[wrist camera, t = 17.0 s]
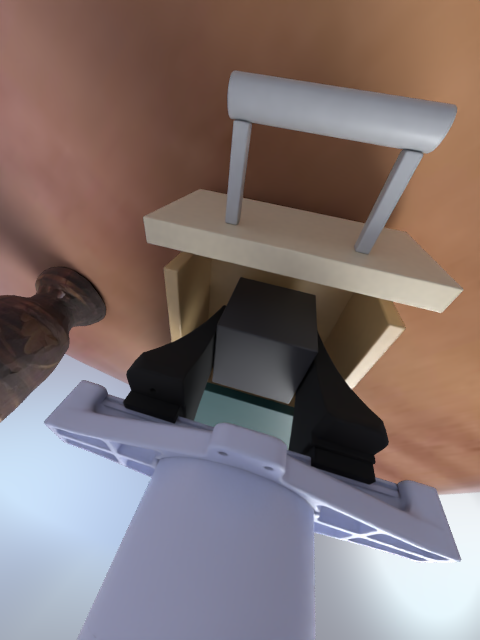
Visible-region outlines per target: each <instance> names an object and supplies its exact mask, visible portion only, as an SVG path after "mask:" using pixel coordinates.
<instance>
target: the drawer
mask: <svg viewBox="0 0 480 640" xmlns="http://www.w3.org/2000/svg"><path fill="white" fill-rule="evenodd" d="M227 106H228V114H229V117H230V118H231V119H234V122H233V134H232V146H231V157H230V169H229V181H228V193H227V194H223V193H218V192H213V191H208V190H203V189H199V190H197V191H195V192H193V193H191V194H188V195H186V196H184V197H182V198H180V199H178V200H176V201H174V202H172V203H170V204H168V205H166V206H164V207H162V208H160V209H158V210H156V211H154V212H152V213H150V214H148V215H146V216H144V217H143V220H144V226H145V233H146V239H147V243H150V244H154V245H158V246H163V247H167V248H171V249H175V250H179V251H182V252H181V253H179V254H178V255H177V256H176V257H175V258H174V259H173V260H172V261H171V262H170V263H168V264H167V265H166V266H165V267H164V278H165V287H166V297H167V306H168V315H169V324H170V333H171V342H174V341H176V340H178V339H180V338H181V337H183V336H185V335H187V334H188V333H190V332H192V331H193V330H195V329H196V328H198V327H199V326H200V325H202V324H203V323H204V322H206V321H207V320H208V319H209V318H210V317H212V316H213V315H214V314H215V313H216V312H217V311H218V310H219V309H220V308H221V307H222V306H224V305H226V306H227V304H228V301H229V299H230V297H231V295H232V293H233V291H234V289H235V287H236V285H237V283H238V281H239V279H240V277H243V278H247V279H252V280H256V281H260V282H264V283H268V284H272V285H276V286H280V287H284V288H289V289H293V290H297V291H301V292H305V293H309V294H313V295H316V313H317V330H318V333H319V335H320V337H321V340H322V342H323V344H324V346H325V348H326V350H327V352H328V354H329V356H330V358H331V360H332V362H333V364H334V365H335V367H336V369H337V370H338V372H339V373H340V375H341V376H342V377H343V379H344V380H345V382H346V383H347V384H348V385H349V387H350V388H351V389H353V388H354V387H355V386H356V385H357V384H358V382H359V381H360V380H361V379H362V378H363V377H364V376H365V374H366V373H367V372H368V371H369V370H370V369H371V368H372V366H373V365H374V364H375V363H376V362H377V361H378V360H379V358H380V357H381V356H382V355H383V354H384V353H385V352H386V351H387V349H388V348H389V347H390V346H391V345H392V344H393V343H394V341H395V340H396V339H397V338H398V337H399V336H400V335H401V333H402V332H403V331H404V330H405V328H406V327H405V325H404V323H403V321H402V319H401V317H400V315H399V313H398V311H397V309H396V307H395V305H394V303H393V302H398V303H402V304H406V305H410V306H414V307H419V308H423V309H427V310H431V311H435V312H439V313H442V312H443V311H444V310H445V309H446V308H447V307H448V306H449V305H450V304H451V303H452V301H453V300H454V299H455V298H456V297H457V296H458V295H459V294H460V293H461V292H462V291H463V288H462V287H461V286H460V285H459V284H458V283H457V282H456V281H455V280H454V279H453V278H452V277H451V276H450V275H449V274H448V273H447V272H446V271H445V270H444V269H443V268H442V267H441V266H440V265H439V264H438V263H437V262H436V261H435V260H434V259H433V258H432V257H431V256H430V255H429V254H428V253H427V252H426V251H425V250H424V249H423V248H422V247H421V246H420V245H419V244H418V243H417V242H416V241H415V240H414V239H413V238H412V237H411V236H410V235H409V234H408V233H407V232H404V231H399V230H394V229H390V228H385V227H384V226H385V224H386V222H387V220H388V218H389V217H390V215H391V213H392V211H393V209H394V208H395V206H396V204H397V202H398V200H399V198H400V197H401V195H402V193H403V191H404V189H405V188H406V186H407V184H408V182H409V180H410V179H411V177H412V175H413V173H414V171H415V169H416V168H417V166H418V164H419V162H420V160H421V159H422V157H423V153H430V152H432V151H433V150H434V149H435V148H436V147H437V146H438V145H439V144H440V143H441V141H442V140H443V139H444V137H445V136H446V134H447V133H448V131H449V129H450V127H451V125H452V123H453V121H454V119H455V116H456V113H457V107H456V105H454V104H448V103H441V102H435V101H429V100H422V99H416V98H409V97H403V96H396V95H390V94H384V93H377V92H371V91H364V90H358V89H351V88H345V87H339V86H332V85H326V84H319V83H313V82H306V81H300V80H294V79H287V78H281V77H274V76H268V75H261V74H255V73H249V72H242V71H236V70H235V71H233V72H232V73H231V76H230V80H229V85H228V95H227ZM250 122H251V123H250ZM252 123H256V124H262V125H268V126H273V127H279V128H285V129H290V130H296V131H302V132H307V133H313V134H319V135H324V136H330V137H336V138H341V139H347V140H353V141H358V142H364V143H370V144H375V145H381V146H387V147H392V148H398V149H404V150H402V151H401V152H400V154H399V156H398V158H397V160H396V162H395V164H394V166H393V168H392V170H391V172H390V174H389V176H388V178H387V180H386V182H385V184H384V186H383V188H382V190H381V192H380V194H379V196H378V198H377V200H376V202H375V204H374V207H373V209H372V211H371V213H370V215H369V217H368V219H367V221H366V223H361V222H356V221H351V220H347V219H342V218H337V217H332V216H328V215H323V214H318V213H313V212H308V211H304V210H299V209H294V208H289V207H285V206H280V205H275V204H270V203H265V202H261V201H256V200H251V199H246V198H243V192H244V184H245V176H246V168H247V161H248V153H249V145H250V137H251V129H252ZM212 377H213V368H212V371H211V373H210V376H209V379H208V381H207V382H209V383H212V384H216V385H219V386H223V387H226V388H229V389H233V390H236V391H240V392H243V393H247V394H250V395H253V396H257V397H260V398H264V399H267V400H271V401H274V402H277V403H281V404H284V405H288V406H291V407H294V405H295V395H296V392H295V394H294V396H293V398H292V399H291V401H290V403H289V404H287V403H284V402H280V401H277V400H273V399H270V398H266V397H263V396H259V395H256V394H253V393H249V392H246V391H242V390H239V389H235V388H232V387H228V386H225V385H222V384H218V383H215V382H212Z"/></svg>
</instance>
